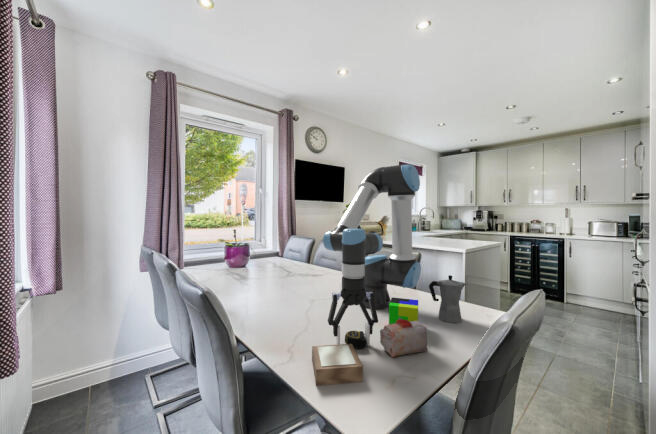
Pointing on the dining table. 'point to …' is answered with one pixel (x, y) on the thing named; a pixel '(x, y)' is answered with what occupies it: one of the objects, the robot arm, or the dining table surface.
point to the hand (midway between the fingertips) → (352, 344)
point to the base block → (336, 364)
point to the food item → (404, 337)
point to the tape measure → (355, 339)
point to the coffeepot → (448, 299)
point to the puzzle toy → (403, 310)
